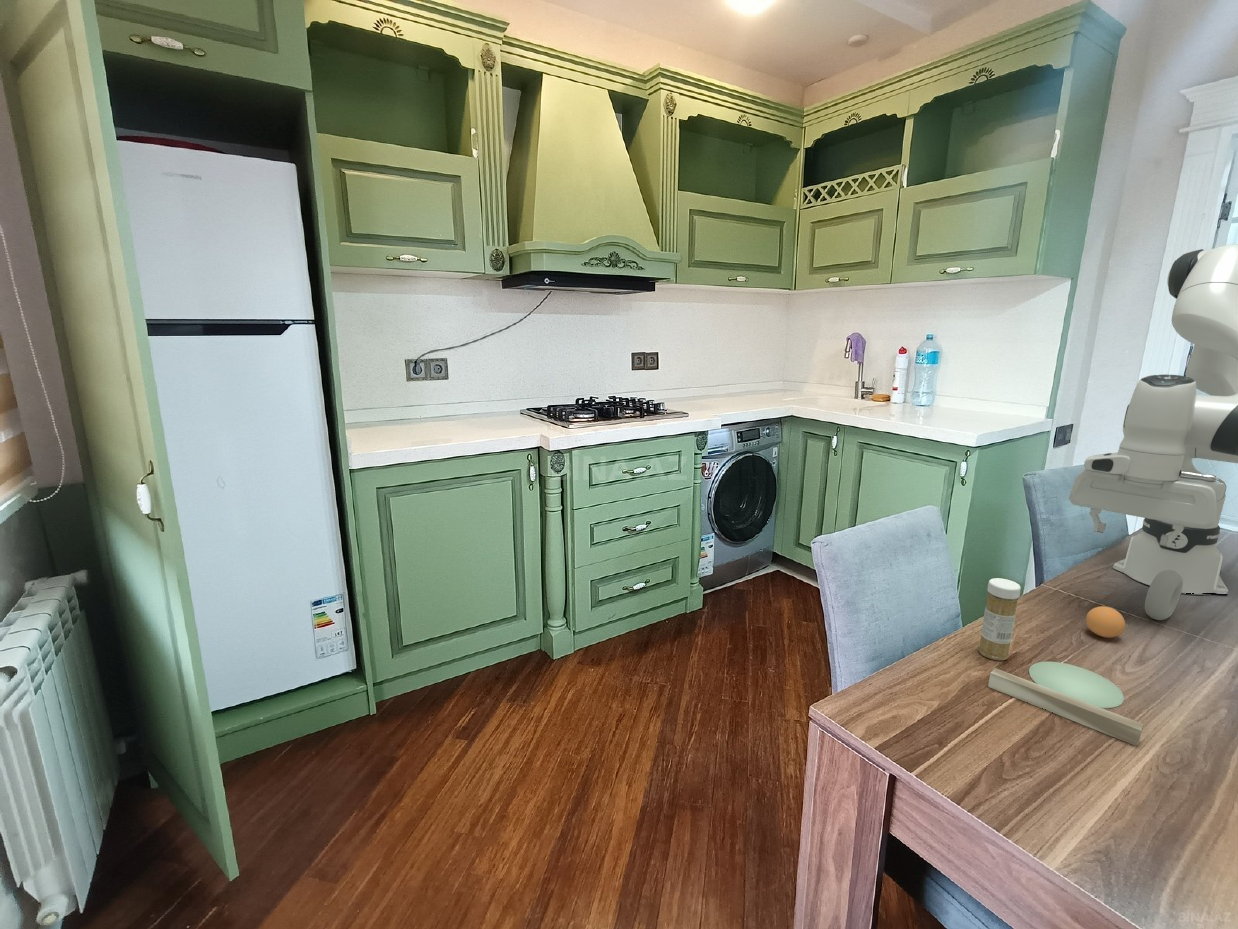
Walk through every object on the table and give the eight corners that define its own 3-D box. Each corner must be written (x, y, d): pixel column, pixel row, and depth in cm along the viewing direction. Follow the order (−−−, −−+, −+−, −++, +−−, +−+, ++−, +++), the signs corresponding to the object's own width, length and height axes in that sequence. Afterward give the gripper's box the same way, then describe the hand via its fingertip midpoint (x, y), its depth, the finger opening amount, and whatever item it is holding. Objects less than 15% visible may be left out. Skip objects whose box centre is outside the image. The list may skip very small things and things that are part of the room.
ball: (1086, 624, 111) (1092, 598, 110) (1124, 636, 107) (1130, 608, 106) (1080, 635, 108) (1086, 607, 106) (1118, 647, 104) (1125, 618, 102)
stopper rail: (992, 681, 94) (994, 667, 93) (1139, 739, 81) (1143, 724, 80) (988, 686, 92) (990, 672, 92) (1137, 746, 79) (1141, 730, 79)
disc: (1039, 654, 101) (1040, 653, 101) (1129, 685, 93) (1130, 684, 93) (1019, 682, 93) (1019, 681, 93) (1115, 719, 85) (1116, 718, 85)
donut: (1161, 629, 109) (1173, 580, 107) (1137, 622, 112) (1148, 573, 110) (1178, 615, 115) (1190, 568, 112) (1155, 608, 118) (1166, 562, 115)
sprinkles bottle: (1004, 650, 103) (1016, 579, 99) (1011, 664, 98) (1025, 590, 95) (974, 645, 104) (985, 575, 101) (980, 659, 100) (992, 586, 97)
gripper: (1230, 474, 100) (1210, 550, 103) (1082, 454, 115) (1068, 521, 118) (1228, 480, 96) (1207, 559, 99) (1074, 458, 111) (1060, 528, 114)
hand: (1130, 538), depth 109 cm, fingers open, 8 cm apart
